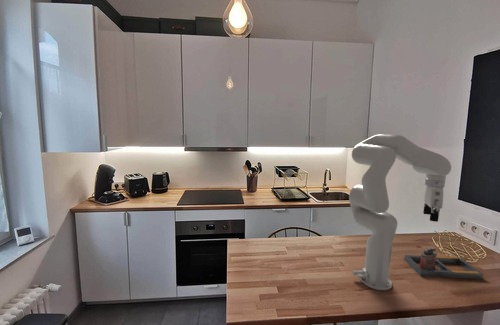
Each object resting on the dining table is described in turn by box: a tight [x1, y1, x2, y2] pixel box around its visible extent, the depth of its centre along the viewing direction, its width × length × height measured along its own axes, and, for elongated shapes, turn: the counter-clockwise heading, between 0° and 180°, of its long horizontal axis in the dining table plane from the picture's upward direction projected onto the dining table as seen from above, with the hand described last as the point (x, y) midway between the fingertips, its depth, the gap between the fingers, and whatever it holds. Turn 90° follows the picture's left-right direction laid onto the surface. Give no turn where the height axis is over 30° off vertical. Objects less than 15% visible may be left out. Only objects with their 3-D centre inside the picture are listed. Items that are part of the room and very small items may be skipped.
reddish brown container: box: [419, 247, 438, 270], centre depth 122 cm, size 8×3×10 cm, turn 105°
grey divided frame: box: [403, 254, 484, 280], centre depth 122 cm, size 26×14×3 cm, turn 86°
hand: (430, 217), depth 124 cm, fingers open, 9 cm apart
